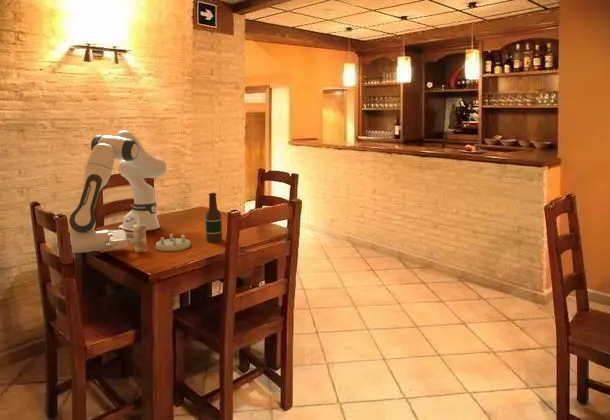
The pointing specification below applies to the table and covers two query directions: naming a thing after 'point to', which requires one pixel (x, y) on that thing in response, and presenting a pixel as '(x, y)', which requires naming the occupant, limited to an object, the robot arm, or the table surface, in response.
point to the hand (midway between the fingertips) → (137, 237)
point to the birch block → (140, 237)
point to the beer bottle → (213, 221)
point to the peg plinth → (170, 246)
